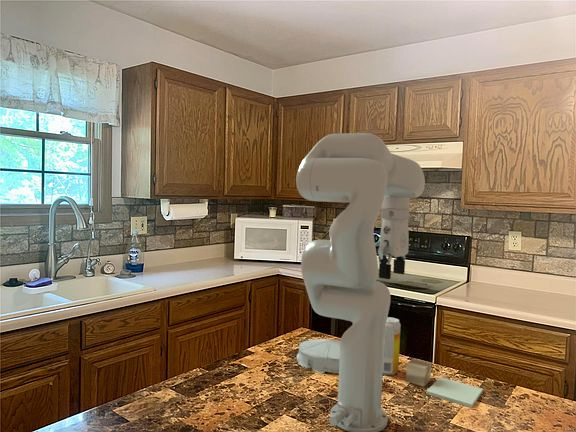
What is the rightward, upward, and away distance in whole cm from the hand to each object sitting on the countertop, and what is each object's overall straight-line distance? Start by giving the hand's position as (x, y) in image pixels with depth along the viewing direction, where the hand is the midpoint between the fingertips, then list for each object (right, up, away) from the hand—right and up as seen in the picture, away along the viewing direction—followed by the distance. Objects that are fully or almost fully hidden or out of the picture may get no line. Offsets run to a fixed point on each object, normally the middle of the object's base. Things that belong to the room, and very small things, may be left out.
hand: (391, 275), depth 124 cm
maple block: (+6, -28, -4) cm, 29 cm away
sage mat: (+14, -29, -11) cm, 33 cm away
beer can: (-1, -28, +1) cm, 28 cm away
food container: (-17, -27, +8) cm, 33 cm away
